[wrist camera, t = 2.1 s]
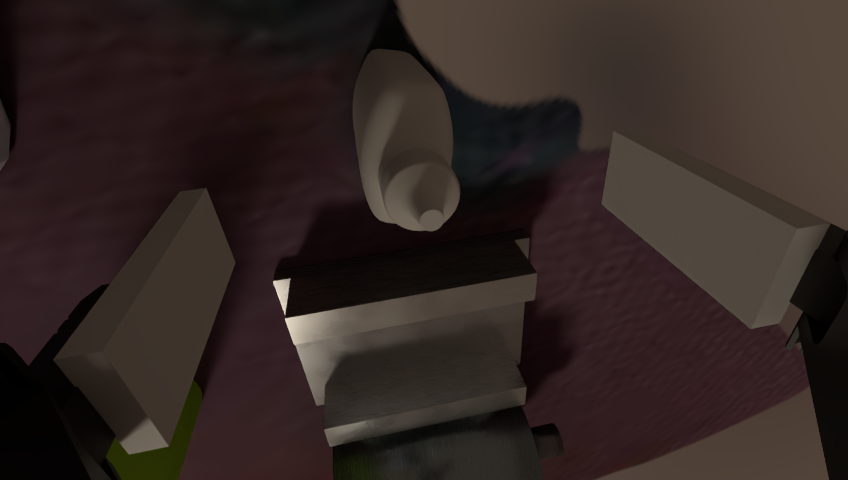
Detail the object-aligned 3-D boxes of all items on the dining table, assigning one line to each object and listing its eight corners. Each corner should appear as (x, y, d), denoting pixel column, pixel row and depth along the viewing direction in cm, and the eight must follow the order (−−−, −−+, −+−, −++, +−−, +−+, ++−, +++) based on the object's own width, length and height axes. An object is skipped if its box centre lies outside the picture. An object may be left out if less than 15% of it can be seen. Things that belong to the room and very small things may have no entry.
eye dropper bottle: (320, 128, 22) (311, 261, 12) (380, 30, 20) (429, 88, 10) (390, 170, 24) (433, 315, 14) (451, 84, 22) (552, 179, 12)
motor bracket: (274, 271, 26) (251, 393, 18) (552, 225, 28) (634, 317, 20) (340, 464, 38) (343, 585, 30) (530, 422, 40) (576, 526, 32)
